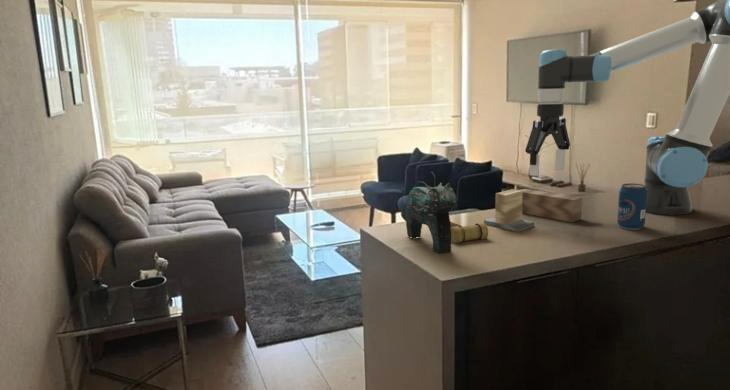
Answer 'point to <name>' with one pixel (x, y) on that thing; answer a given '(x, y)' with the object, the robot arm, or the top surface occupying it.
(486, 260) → the top surface
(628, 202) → the soda can
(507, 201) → the fulcrum
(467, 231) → the gavel
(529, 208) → the walnut beam
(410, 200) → the ceramic cat
